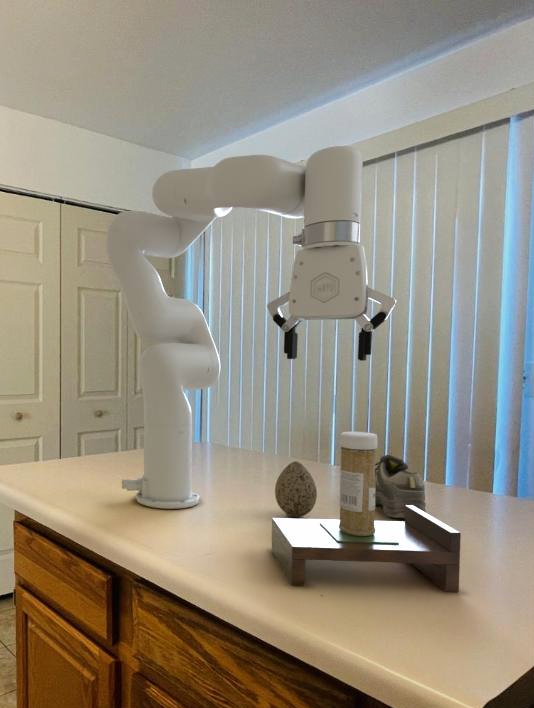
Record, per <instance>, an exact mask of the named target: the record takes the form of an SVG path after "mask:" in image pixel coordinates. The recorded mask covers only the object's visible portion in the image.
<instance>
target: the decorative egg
mask: <svg viewBox="0 0 534 708" xmlns="http://www.w3.org/2000/svg"><path fill="white" fill-rule="evenodd" d="M274 496H275V501H276V503H277V505H278V507H279V508H280V510H282V512H284V513H285V514H287V515H289V516H290V517H294V518H295V517H296V518H299V517H300V518H301V517H303V516H306V515H307V514H310V512H311V511H312V510H313V509H314V507H315V505H316V502H317V497H318V491H317V486H316V483H315V480H314V478H313V476H312V474H311V473H310V472H309V470H308V468H307V467H306V466H304V465H303V464H302V463H301V462H300V461H292V462H290V463H288V465H287V466H285V467H284V468H283V469H282V471H281V472H280V474H279V475H278V478H277V479H276V482H275V487H274Z"/></svg>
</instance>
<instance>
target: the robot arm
mask: <svg viewBox="0 0 534 708" xmlns="http://www.w3.org/2000/svg"><path fill="white" fill-rule="evenodd" d="M363 162H364V158H363V155H362V153H361V151H360V150H359V149H358V148H355V147H353V146H348V145H337V146H328V147H325V148H322V149H319V150H317V151H315V152H314V153H312V154H311V155H310V156H309V157H308V158H307V161H306V163H305V165H301V164H296V163H295V162H291V161H289V160H285V159H282V158H279V157H277V156H272V155H267V154H249V155H238V156H230V157H226V158H223V159H221V160H220V161H219V162H217V163H216V164H215V165H214V166H205V167H194V168H183V169H181V168H180V169H174V170H169V171H167V172H164V173H163V174H161V175H160V176H159V177H157V179H156V180H155V182H154V183H153V186H152V190H151V196H152V201H153V203H154V205H155V207H156V208H157V209H158V210H159V211H160V212H161V213H163V214H165V215H161V214H156V213H152V212H147V211H141V210H126V211H122V212H119V213H118V214H116V215H115V216H114V217H113V218H112V219H111V221H110V223H109V225H108V228H107V231H106V237H105V238H106V239H105V240H106V241H105V242H106V243H105V247H106V248H105V249H106V255H107V261H108V263H109V265H110V268H111V270H112V273H113V275H114V276H115V278H116V281H117V283H118V285H119V287H120V290H121V292H122V297H123V300H124V302H125V303H124V304H125V307H126V310H127V314H128V316H129V318H130V322H131V325H132V329H133V330H134V333H135V335H136V336H137V338H138V339H139V340H141V341H143V342H146V343H155V344H153V345H150V346H149V347H147V348H146V349H145V350H144V351H143V353H142V354H141V356H140V358H139V363H138V373H139V378H140V385H141V390H142V397H143V398H142V399H143V474H142V478H141V477H138V478H137V479H125V478H124V479H123V478H122V479H121V489H122V490H126V491H127V492H129V491H130V492H133V491H136V494H135V498H136V499H135V500H136V501H137V503H139V504H141V505H143V506H146V507H150V508H155V509H164V510H165V509H166V510H167V509H168V510H173V509H175V510H177V509H186V508H191V507H194V506H197V505H198V504H199V503H200V495H199V494H198V493H197V492H195V491H193V490H192V477H193V476H192V473H193V469H192V468H193V467H192V466H193V464H192V463H193V461H192V458H193V457H192V456H193V450H192V449H193V414H192V407H191V405H190V401H189V399H188V398H187V396H186V393H185V391H197V390H205V389H209V388H210V387H212V386H213V385H215V384H216V383H217V382H218V379H219V377H220V375H221V360H220V355H219V352H218V350H217V347H216V343H215V341H214V339H213V336H212V333H211V331H210V327H209V325H208V322H207V320H206V316H205V315H204V313H203V311H202V309H201V308H200V307H199V305H197V304H196V303H195V302H194V301H191V300H189V299H185V298H177V297H172V296H169V295H168V294H167V292H166V290H165V288H164V285H163V283H162V278H161V277H160V274H159V273H158V271H157V270H156V268H155V267H154V266H153V265H152V263H151V262H150V261H149V260H148V259H147V258H146V257H145V256H150V257H157V258H163V259H173V258H177V257H178V256H180V255H182V254H183V253H184V252H186V251H187V250H188V248H190V246H191V245H192V244H193V243H194V242H195V241H197V239H198V238H200V236H201V235H202V234H203V233H204V232H205V231H206V230H207V229H208V228H209V226H210V225H211V224H212V223H213V222H214V221H215V219H216V218H222V217H225V216H226V215H227V214H229V213H230V212H231V211H232V209H233V208H241V209H242V208H243V209H244V208H245V209H253V210H257V211H261V212H267V213H270V214H274V215H276V216H280V217H284V218H288V219H300V218H303V228H301V232H300V234H297V235H293V236H292V245H293V246H296V245H297V246H300V247H301V248H302V249H298V250H296V252H295V256H294V261H293V266H292V272H291V277H290V287H289V291H288V292H285V294H283V295H281V296H279V297H277V298H275V299H274V300H271V301H270V302H268V303H267V304H266V307H267V310H268V312H269V315H270V316H271V318H272V320H273V322H274V323H275V324H276V326H278V327H279V328H280V330H281V331H282V332H283V333H284V334H283V353H284V354H286V360H296V359H298V338H299V337H298V336H299V334H298V332H296V329H297V328H298V327H299V326H300V325H301V323H302V322H304V321H322V320H323V321H325V320H328V321H329V320H332V321H333V320H355V321H356V322H357V324H358V325H359V326H360V327H361V328H360V329H361V331H360V332H359V333H358V343H357V345H358V346H357V347H358V348H357V360H359V361H361V362H362V361H363V362H364V361H367V356H370V355H372V347H373V332H374V331H375V330H376V329H377V328H378V327H379V326H380V325H383V323H384V322H385V321H386V320H388V317H389V316H390V314H391V312H392V311H393V310H394V308H395V306H396V304H397V300H396V299H395V298H394V297H391V296H389V295H386V294H384V293H382V292H380V291H377V290H375V289H373V288H370V287H368V284H369V283H368V266H367V258H366V251H365V246H364V245H360V238H361V235H360V233H361V212H362V193H363V192H362V191H363V190H362V189H363V168H364V163H363ZM166 215H167V216H166ZM369 299H370V300H372V301H374V302H375V303H376V302H377V303H378V304H381V307H380V308H379V311H378V312H377V313H376V314H375V315H374V316H372V318H371V319H370V318H368V317H367V315H366V314H367V311H368V300H369ZM287 305H288V314H289V315H290V316H289V318H287V319H286V317H285V316H283V314H282V312H281V308H282V307H284V306H287Z"/></svg>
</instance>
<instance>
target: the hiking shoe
mask: <svg viewBox="0 0 534 708" xmlns="http://www.w3.org/2000/svg"><path fill="white" fill-rule="evenodd" d="M408 469H409V465H408V464H407V463H406V462H405V461H404V459H402V458H400V457H397V456H394V455H391V454H386V455H382V456H381V457H379V461H378V462H375V506H381V505H382V511H383V514H384V515H386V516H387V517H389V518H396V519H405V505H413V506H415V507H417V508H418V509H420V510H422V511H424V512H425V513H427V510H426V505H427V503H426V502H425V501H426V493H425V492H426V491H425V490H426V489H425V484H424V480H423V478H422V476H421V475H420V473H419V472H411V471H409V470H408Z"/></svg>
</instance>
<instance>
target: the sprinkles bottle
mask: <svg viewBox="0 0 534 708" xmlns="http://www.w3.org/2000/svg"><path fill="white" fill-rule="evenodd" d="M339 447H340V451H341V452H340V468H339V520H340V524H339V529H340V530H341V531H342V532H344V533H347V534H351V535H355V536H370V535H373V534H374V533H375V527H374V521H375V512H376V510H375V509H376V505H375V468H376V466H375V464H376V453H377V449H378V434H376V433H372V432H366V431H343V432H341V433H340V434H339Z"/></svg>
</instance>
